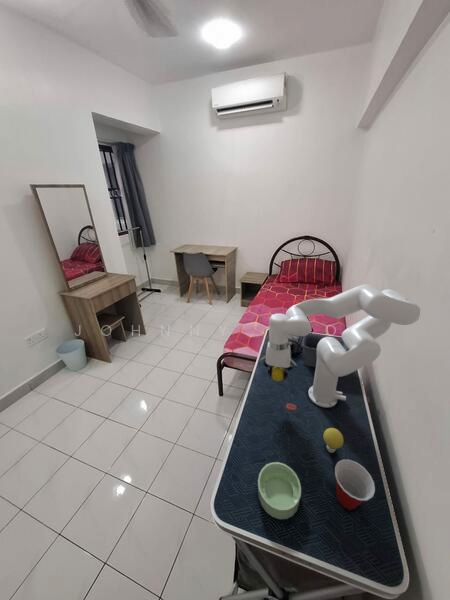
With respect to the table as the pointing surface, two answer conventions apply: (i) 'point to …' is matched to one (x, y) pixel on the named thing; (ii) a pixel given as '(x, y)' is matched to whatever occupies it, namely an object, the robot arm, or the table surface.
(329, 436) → the light bulb
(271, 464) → the pale green bowl
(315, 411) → the table surface
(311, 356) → the storage bin
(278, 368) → the lemon
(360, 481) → the plastic cup
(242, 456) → the table surface
